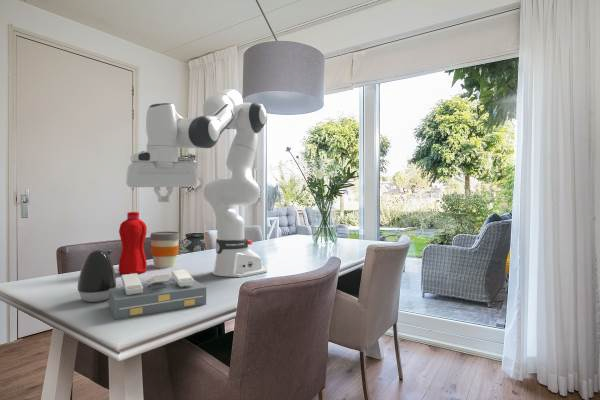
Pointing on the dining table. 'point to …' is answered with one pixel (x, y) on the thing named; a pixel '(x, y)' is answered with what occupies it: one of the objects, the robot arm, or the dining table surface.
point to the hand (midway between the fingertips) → (163, 202)
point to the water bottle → (132, 245)
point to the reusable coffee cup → (164, 248)
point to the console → (155, 299)
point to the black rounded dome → (96, 277)
